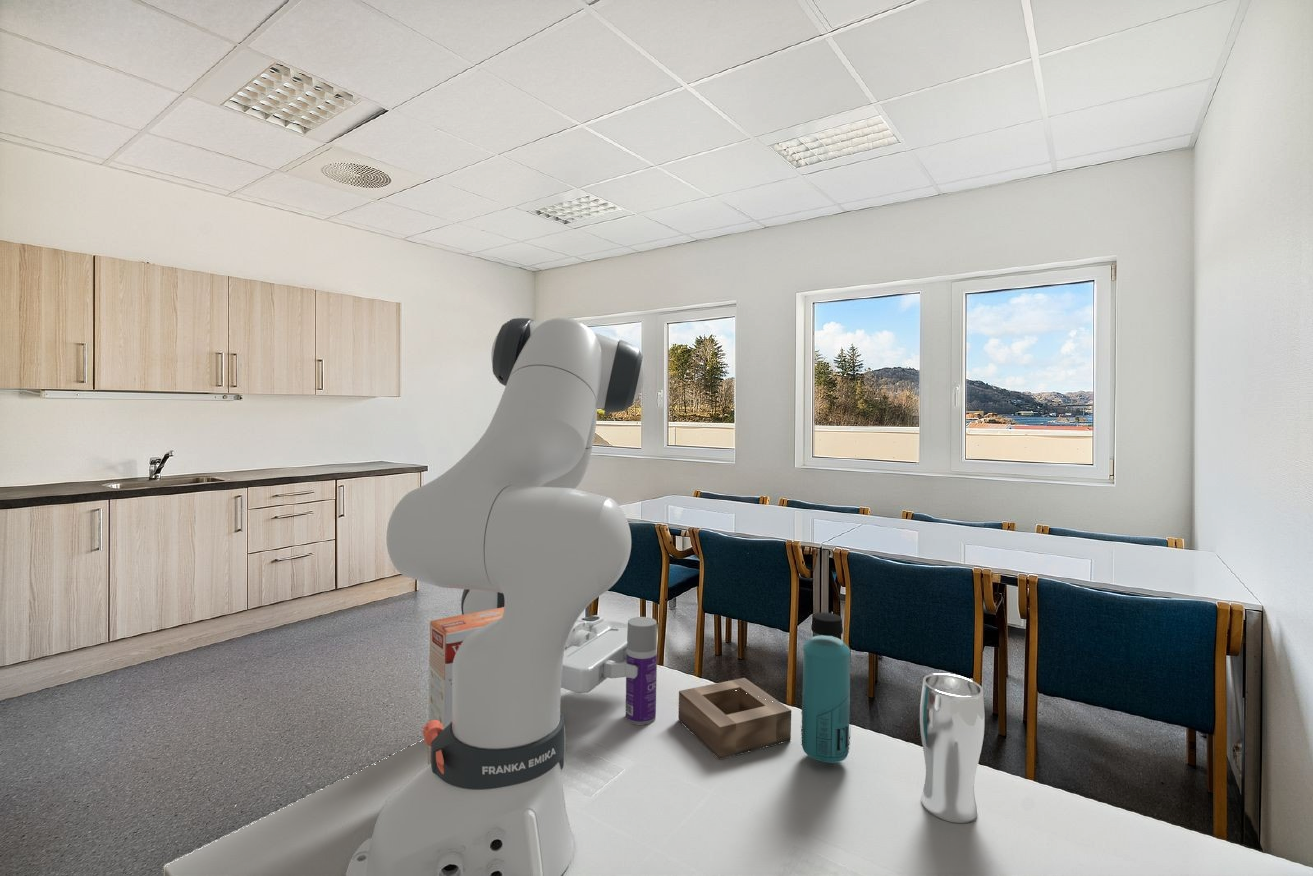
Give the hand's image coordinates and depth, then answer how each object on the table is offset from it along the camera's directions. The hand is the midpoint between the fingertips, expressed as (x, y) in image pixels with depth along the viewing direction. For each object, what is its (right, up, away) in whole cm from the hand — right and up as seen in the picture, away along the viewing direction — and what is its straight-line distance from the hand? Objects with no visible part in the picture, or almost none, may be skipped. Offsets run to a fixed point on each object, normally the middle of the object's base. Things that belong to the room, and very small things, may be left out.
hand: (646, 664), depth 94 cm
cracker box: (-20, -9, -15) cm, 27 cm away
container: (-1, -9, +1) cm, 9 cm away
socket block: (+13, -9, -3) cm, 16 cm away
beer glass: (+37, -10, -20) cm, 43 cm away
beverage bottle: (+24, -9, -11) cm, 28 cm away
